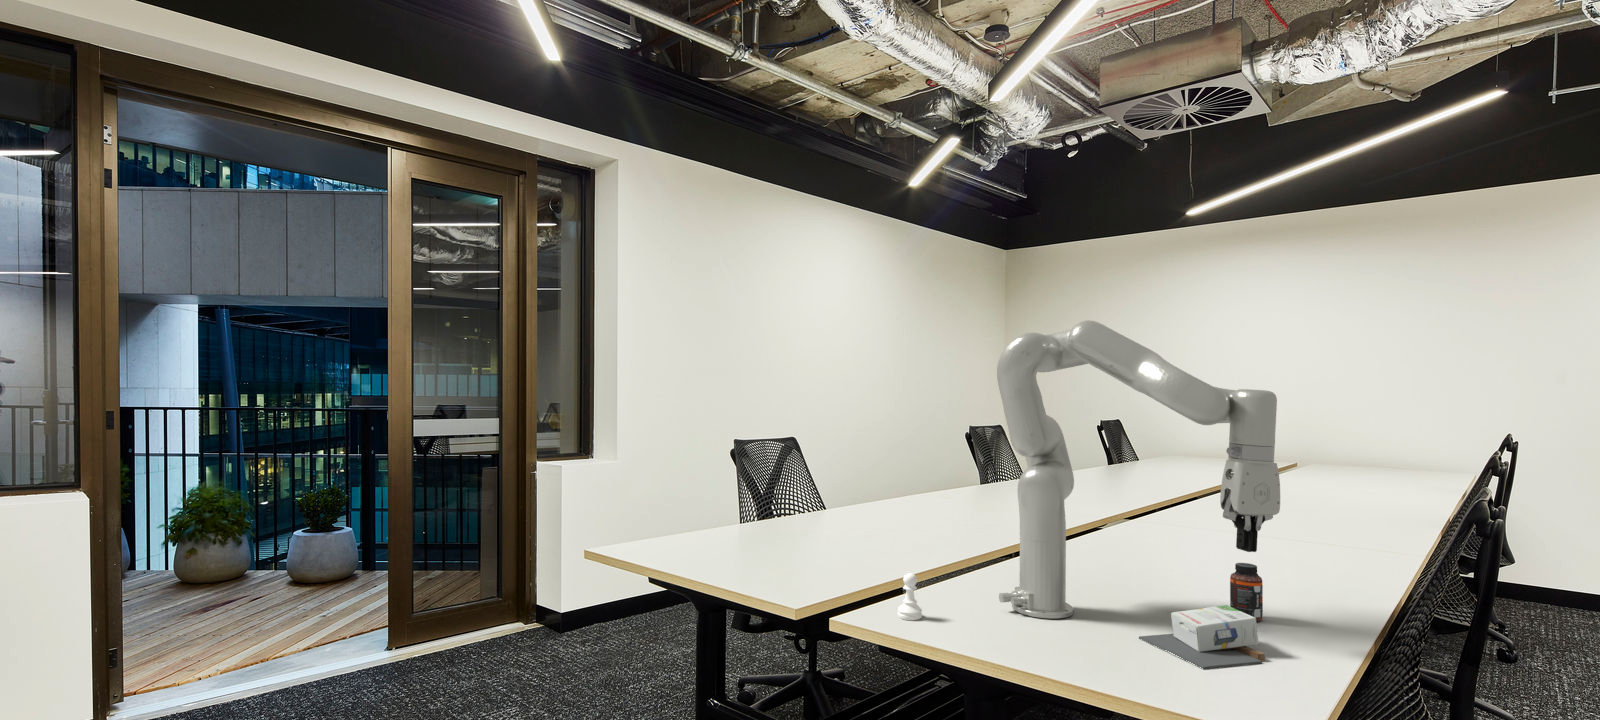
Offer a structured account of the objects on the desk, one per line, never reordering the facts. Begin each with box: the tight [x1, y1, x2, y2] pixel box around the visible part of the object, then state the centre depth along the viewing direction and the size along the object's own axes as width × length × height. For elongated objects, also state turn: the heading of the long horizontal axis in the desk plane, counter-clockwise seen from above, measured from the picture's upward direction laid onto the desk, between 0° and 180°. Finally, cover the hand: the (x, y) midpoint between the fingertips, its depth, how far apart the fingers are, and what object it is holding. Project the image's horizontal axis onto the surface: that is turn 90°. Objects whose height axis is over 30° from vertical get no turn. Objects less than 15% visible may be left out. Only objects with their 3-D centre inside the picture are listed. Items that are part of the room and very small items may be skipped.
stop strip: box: [1232, 646, 1266, 662], centre depth 142 cm, size 2×14×1 cm, turn 16°
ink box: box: [1170, 604, 1259, 652], centre depth 142 cm, size 9×5×12 cm
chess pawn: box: [897, 572, 923, 621], centre depth 157 cm, size 5×5×9 cm
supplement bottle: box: [1229, 562, 1264, 623], centre depth 160 cm, size 6×6×11 cm
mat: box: [1138, 633, 1263, 670], centre depth 140 cm, size 13×16×1 cm
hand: (1246, 550), depth 144 cm, fingers closed
